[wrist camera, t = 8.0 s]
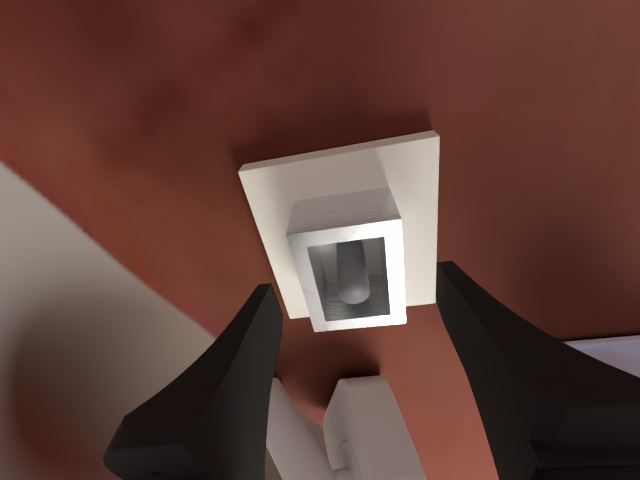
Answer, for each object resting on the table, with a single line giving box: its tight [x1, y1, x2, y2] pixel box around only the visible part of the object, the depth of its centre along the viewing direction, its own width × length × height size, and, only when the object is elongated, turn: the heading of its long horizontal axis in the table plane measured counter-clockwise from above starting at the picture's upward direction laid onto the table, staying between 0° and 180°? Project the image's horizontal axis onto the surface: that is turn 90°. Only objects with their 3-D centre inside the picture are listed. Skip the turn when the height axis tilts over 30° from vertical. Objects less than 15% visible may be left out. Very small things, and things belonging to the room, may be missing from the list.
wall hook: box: [266, 375, 426, 480], centre depth 22 cm, size 8×10×10 cm
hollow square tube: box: [286, 187, 406, 332], centre depth 15 cm, size 6×5×3 cm
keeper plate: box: [238, 130, 440, 319], centre depth 15 cm, size 9×10×4 cm
